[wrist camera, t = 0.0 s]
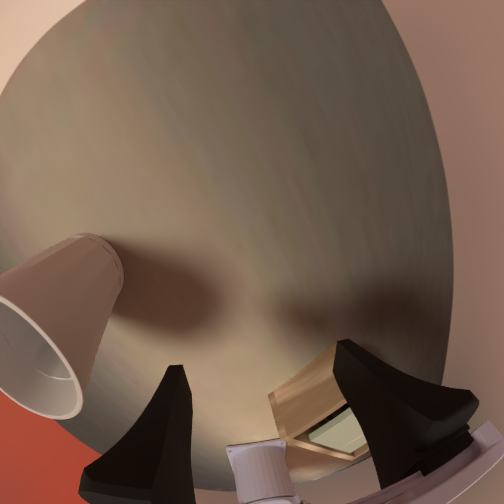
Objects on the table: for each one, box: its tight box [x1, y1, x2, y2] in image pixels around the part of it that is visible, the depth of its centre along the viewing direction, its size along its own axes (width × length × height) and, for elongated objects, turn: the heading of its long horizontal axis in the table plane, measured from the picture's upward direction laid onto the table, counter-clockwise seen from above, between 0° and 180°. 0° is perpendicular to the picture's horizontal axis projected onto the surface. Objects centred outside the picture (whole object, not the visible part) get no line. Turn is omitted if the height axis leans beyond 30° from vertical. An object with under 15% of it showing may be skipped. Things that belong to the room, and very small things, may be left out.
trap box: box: [268, 342, 369, 461], centre depth 25 cm, size 15×9×6 cm, turn 44°
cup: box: [0, 233, 124, 419], centre depth 14 cm, size 8×8×12 cm
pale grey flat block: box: [309, 407, 367, 453], centre depth 24 cm, size 9×7×4 cm
